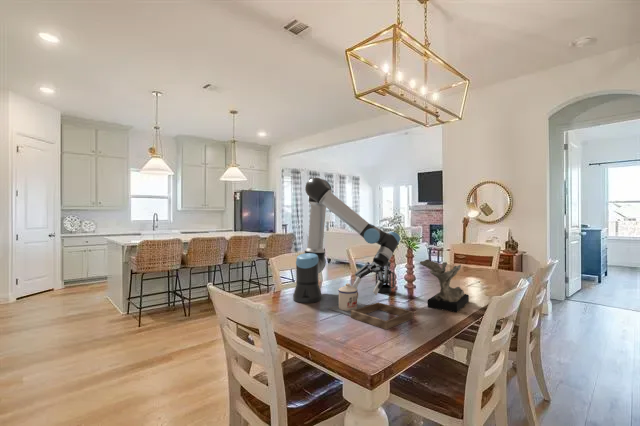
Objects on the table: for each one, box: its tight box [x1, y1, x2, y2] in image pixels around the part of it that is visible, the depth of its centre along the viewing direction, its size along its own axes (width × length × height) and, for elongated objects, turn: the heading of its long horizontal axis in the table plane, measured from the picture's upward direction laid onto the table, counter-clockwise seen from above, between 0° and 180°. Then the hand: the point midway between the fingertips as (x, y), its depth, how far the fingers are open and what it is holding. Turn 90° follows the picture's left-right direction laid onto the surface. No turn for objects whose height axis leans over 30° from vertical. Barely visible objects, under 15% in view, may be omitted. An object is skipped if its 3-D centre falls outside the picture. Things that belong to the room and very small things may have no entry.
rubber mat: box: [327, 303, 366, 317], centre depth 153 cm, size 15×15×1 cm
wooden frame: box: [350, 302, 414, 330], centre depth 141 cm, size 19×19×3 cm
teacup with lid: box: [337, 283, 359, 311], centre depth 154 cm, size 12×9×12 cm
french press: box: [374, 261, 395, 295], centre depth 185 cm, size 12×9×23 cm
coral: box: [419, 259, 470, 313], centre depth 161 cm, size 25×20×22 cm
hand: (363, 290), depth 160 cm, fingers open, 13 cm apart
